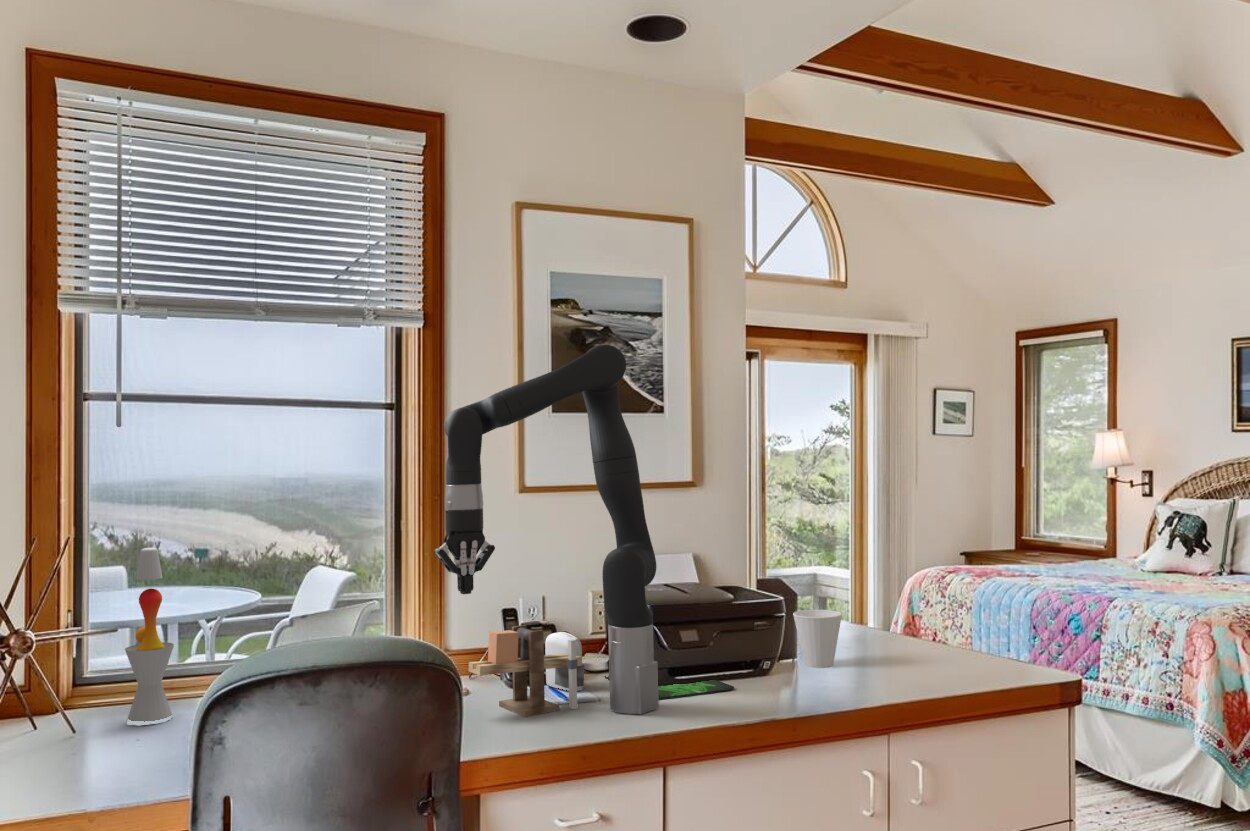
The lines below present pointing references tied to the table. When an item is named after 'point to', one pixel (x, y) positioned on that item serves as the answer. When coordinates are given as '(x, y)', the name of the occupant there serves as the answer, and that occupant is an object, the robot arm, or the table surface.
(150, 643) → the lava lamp
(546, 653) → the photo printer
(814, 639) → the cup
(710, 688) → the mouse mat
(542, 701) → the pivot post
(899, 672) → the table surface
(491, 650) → the rider
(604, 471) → the robot arm
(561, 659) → the beam
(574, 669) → the post
